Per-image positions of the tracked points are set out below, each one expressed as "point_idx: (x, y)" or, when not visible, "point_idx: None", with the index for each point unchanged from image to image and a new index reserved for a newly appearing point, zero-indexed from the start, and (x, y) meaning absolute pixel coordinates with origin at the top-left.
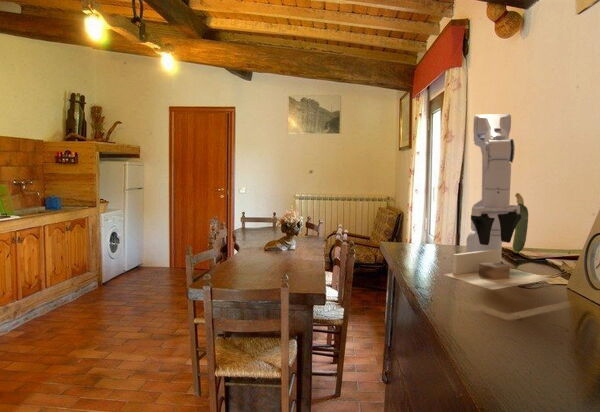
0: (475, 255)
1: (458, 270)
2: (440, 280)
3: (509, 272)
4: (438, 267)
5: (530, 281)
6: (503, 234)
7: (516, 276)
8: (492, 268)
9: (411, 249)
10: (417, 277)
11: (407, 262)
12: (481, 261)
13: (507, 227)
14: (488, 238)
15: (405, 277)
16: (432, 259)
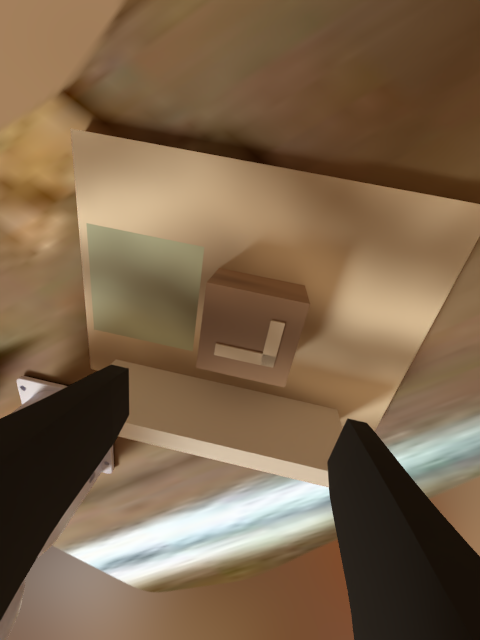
0: (234, 437)
1: (327, 416)
2: (402, 416)
3: (215, 273)
4: (247, 479)
5: (205, 172)
6: (93, 451)
7: (178, 258)
8: (304, 318)
9: (136, 577)
10: (417, 470)
11: (267, 542)
12: (202, 405)
13: (23, 498)
14: (393, 464)
15: (444, 489)
16: (179, 519)
